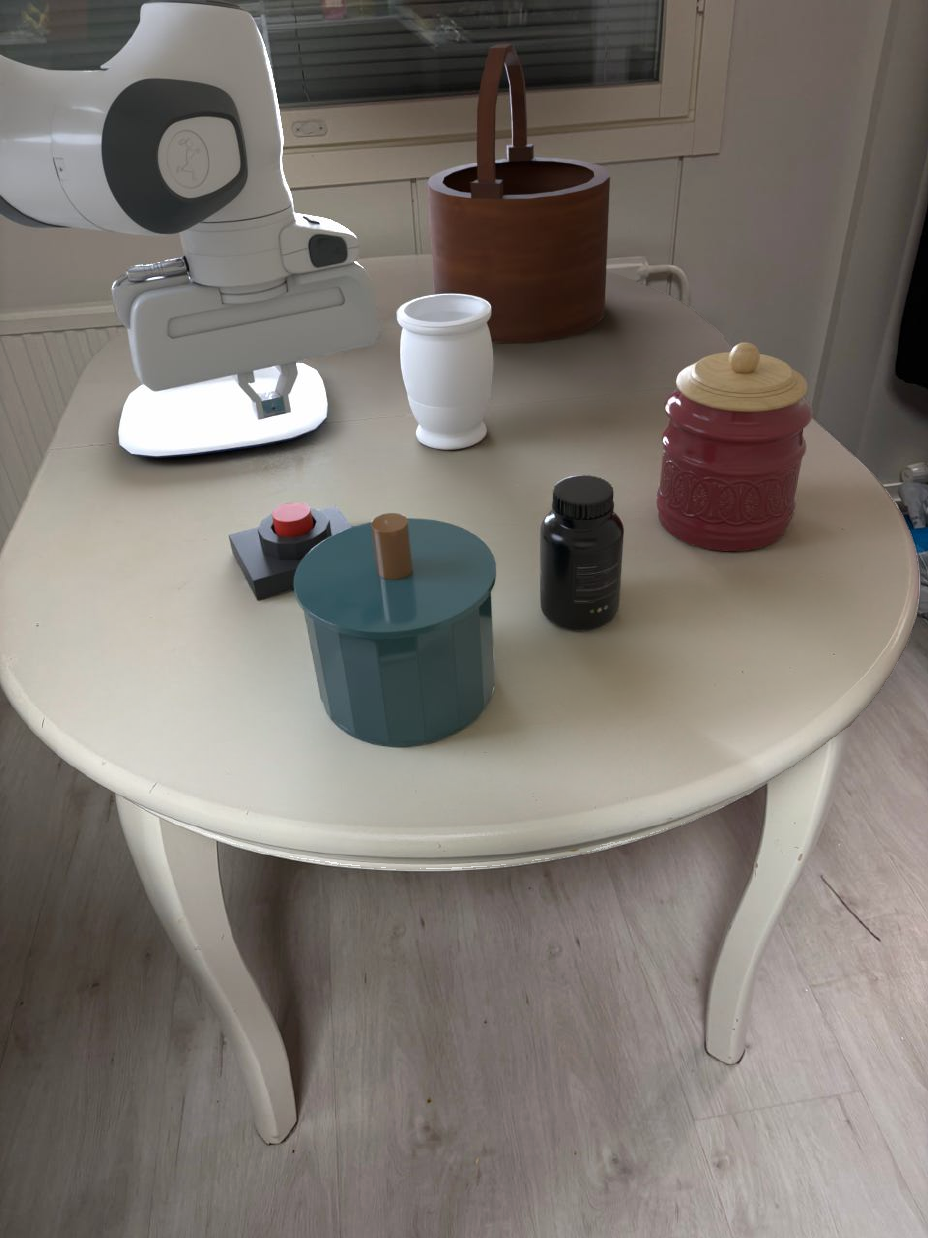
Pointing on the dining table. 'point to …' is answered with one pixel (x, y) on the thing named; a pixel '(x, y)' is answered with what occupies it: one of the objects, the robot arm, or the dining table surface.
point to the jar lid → (395, 577)
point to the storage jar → (406, 680)
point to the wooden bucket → (521, 226)
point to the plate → (218, 416)
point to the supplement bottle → (581, 555)
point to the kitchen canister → (733, 450)
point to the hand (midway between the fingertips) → (272, 414)
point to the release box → (280, 551)
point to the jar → (447, 367)
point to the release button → (292, 519)
